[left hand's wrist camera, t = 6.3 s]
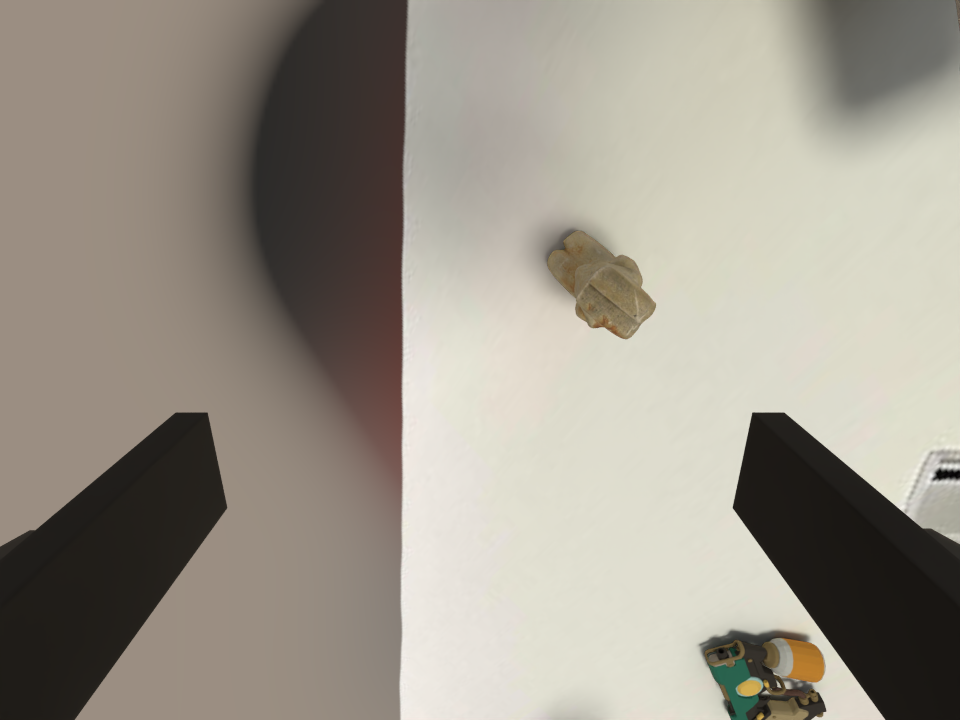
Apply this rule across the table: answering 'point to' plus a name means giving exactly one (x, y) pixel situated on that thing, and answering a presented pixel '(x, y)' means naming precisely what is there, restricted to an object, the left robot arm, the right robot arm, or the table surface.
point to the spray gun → (768, 678)
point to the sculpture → (602, 285)
